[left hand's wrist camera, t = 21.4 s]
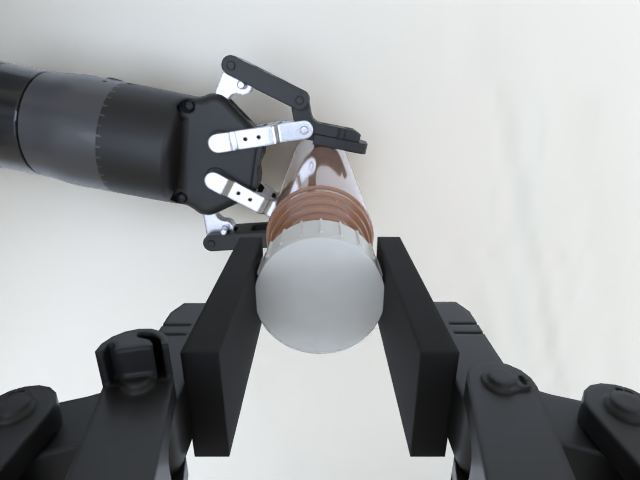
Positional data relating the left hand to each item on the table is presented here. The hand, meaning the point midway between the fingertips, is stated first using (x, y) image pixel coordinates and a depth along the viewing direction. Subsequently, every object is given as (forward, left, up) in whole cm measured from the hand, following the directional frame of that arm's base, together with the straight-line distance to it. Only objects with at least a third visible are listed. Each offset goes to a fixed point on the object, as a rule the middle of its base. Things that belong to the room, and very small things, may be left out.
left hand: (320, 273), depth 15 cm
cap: (0, 0, +2) cm, 2 cm away
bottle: (0, 0, -23) cm, 23 cm away
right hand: (-2, -1, -16) cm, 16 cm away
